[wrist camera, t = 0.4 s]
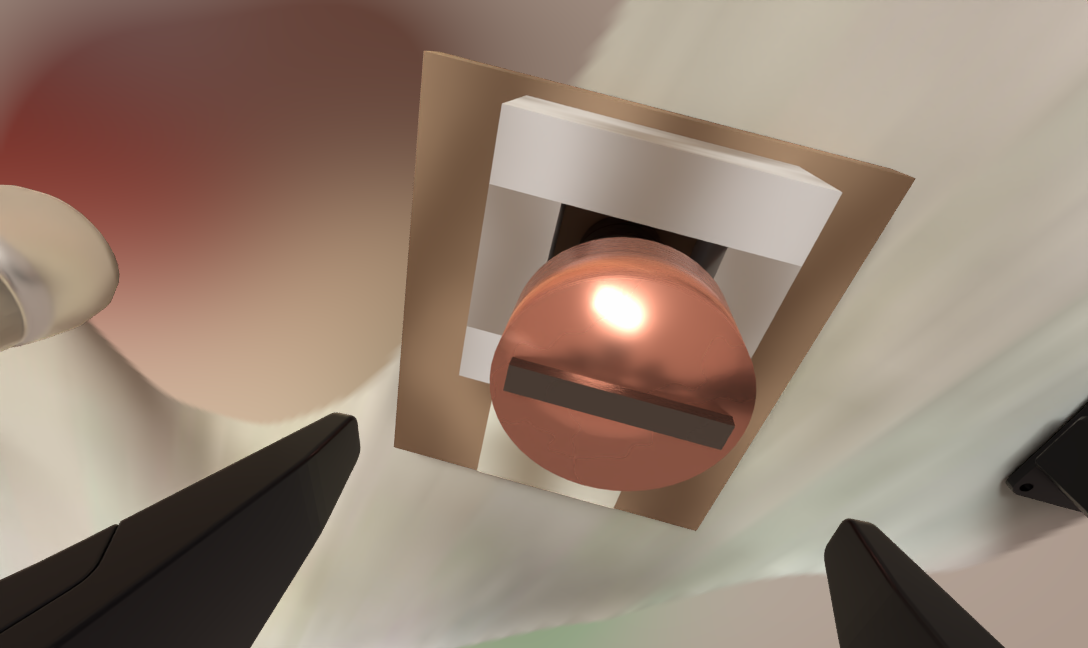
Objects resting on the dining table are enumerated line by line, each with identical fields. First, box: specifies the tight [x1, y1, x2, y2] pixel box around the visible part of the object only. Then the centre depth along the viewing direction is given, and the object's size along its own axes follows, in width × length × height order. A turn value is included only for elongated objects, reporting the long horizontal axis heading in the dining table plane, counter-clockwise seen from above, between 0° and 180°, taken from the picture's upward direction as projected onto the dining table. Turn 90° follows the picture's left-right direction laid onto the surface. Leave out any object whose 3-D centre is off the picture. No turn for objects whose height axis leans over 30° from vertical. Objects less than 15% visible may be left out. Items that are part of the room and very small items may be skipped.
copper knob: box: [490, 216, 756, 491], centre depth 14 cm, size 6×6×9 cm
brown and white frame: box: [394, 51, 916, 531], centre depth 18 cm, size 16×18×5 cm
